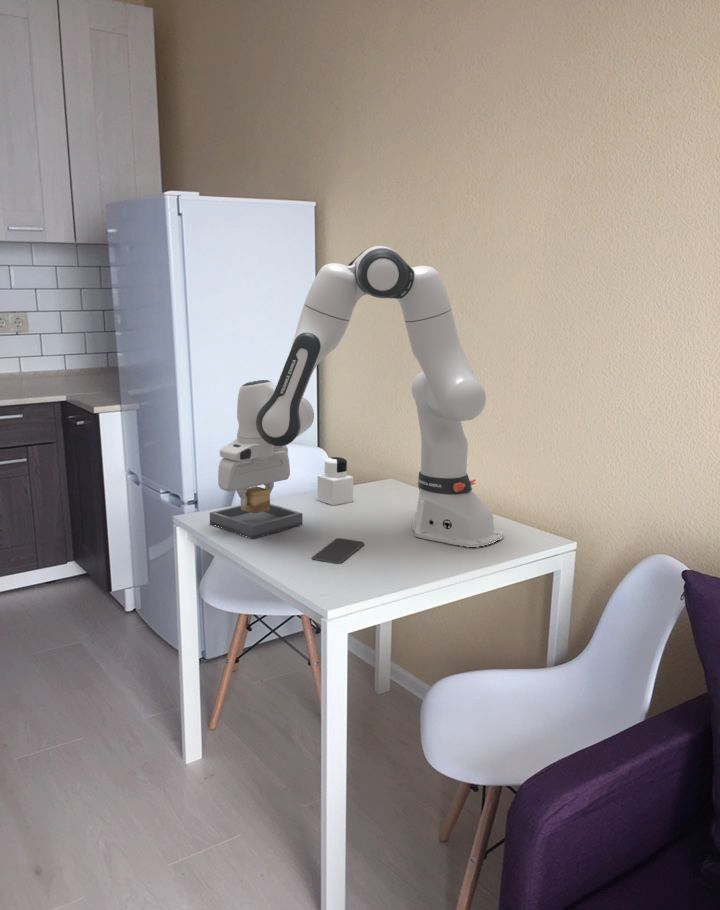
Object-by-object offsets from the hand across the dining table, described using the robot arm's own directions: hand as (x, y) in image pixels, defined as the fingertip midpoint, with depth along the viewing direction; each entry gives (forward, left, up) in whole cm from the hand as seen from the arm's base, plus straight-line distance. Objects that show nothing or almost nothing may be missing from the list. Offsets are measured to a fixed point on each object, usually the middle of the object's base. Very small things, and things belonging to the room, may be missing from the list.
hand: (255, 502), depth 197 cm
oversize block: (0, 0, -2) cm, 2 cm away
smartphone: (-28, 0, -6) cm, 29 cm away
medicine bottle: (+2, -30, -6) cm, 31 cm away
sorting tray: (0, 0, -6) cm, 6 cm away
